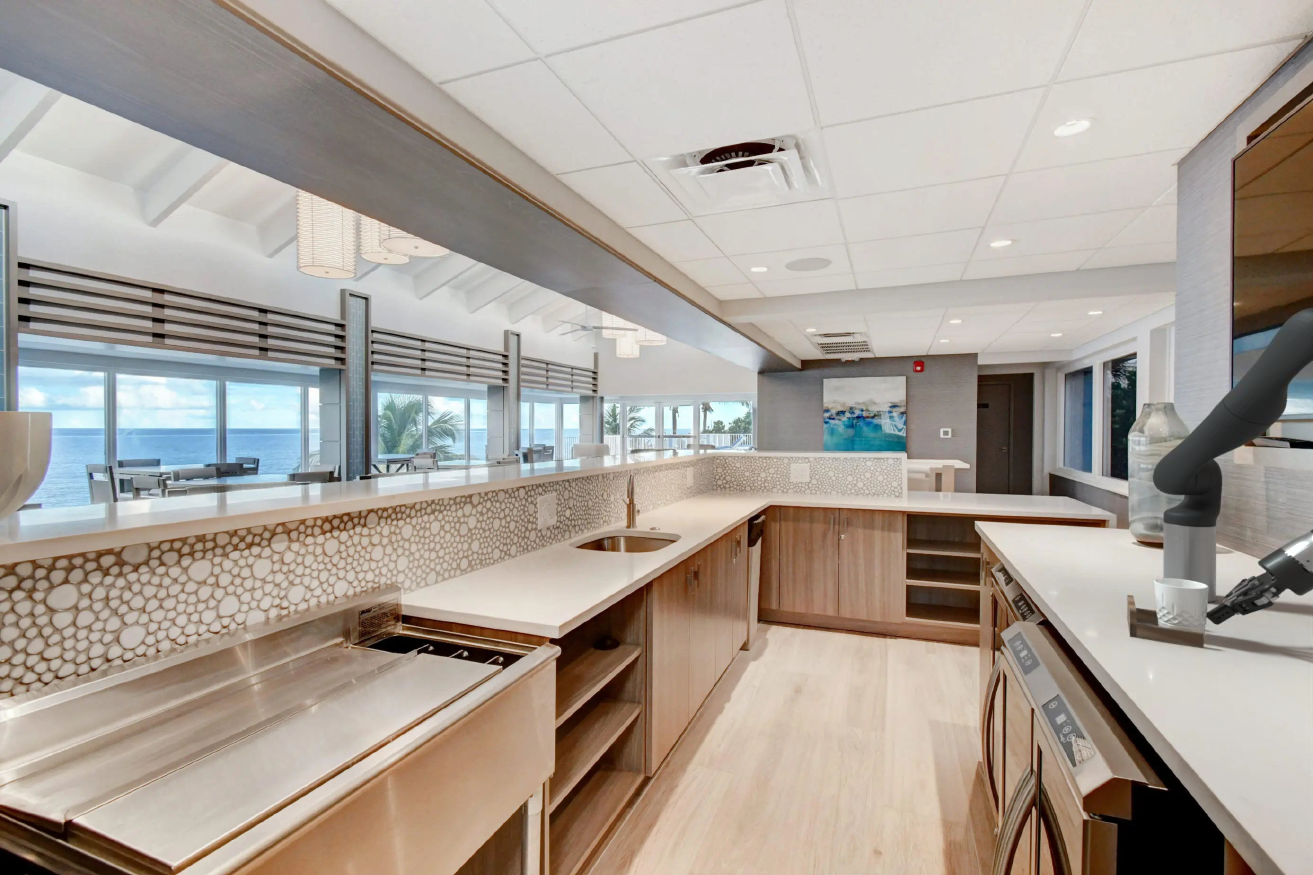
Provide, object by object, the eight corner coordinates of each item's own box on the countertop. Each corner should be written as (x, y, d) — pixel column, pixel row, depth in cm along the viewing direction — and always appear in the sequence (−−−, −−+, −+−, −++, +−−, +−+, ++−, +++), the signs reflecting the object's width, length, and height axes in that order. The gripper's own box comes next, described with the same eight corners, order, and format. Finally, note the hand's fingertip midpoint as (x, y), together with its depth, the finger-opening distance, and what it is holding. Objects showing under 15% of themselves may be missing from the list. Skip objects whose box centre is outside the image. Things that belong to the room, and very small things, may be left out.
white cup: (1218, 643, 109) (1217, 589, 109) (1166, 639, 111) (1165, 587, 111) (1195, 629, 116) (1194, 579, 116) (1147, 626, 119) (1146, 577, 119)
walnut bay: (1127, 618, 124) (1127, 594, 124) (1194, 627, 117) (1194, 603, 117) (1129, 636, 113) (1129, 610, 113) (1203, 647, 107) (1203, 620, 107)
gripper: (1273, 540, 111) (1186, 595, 118) (1292, 553, 100) (1196, 612, 107) (1314, 572, 108) (1223, 626, 115) (1339, 588, 97) (1236, 647, 104)
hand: (1210, 619), depth 111 cm, fingers closed
